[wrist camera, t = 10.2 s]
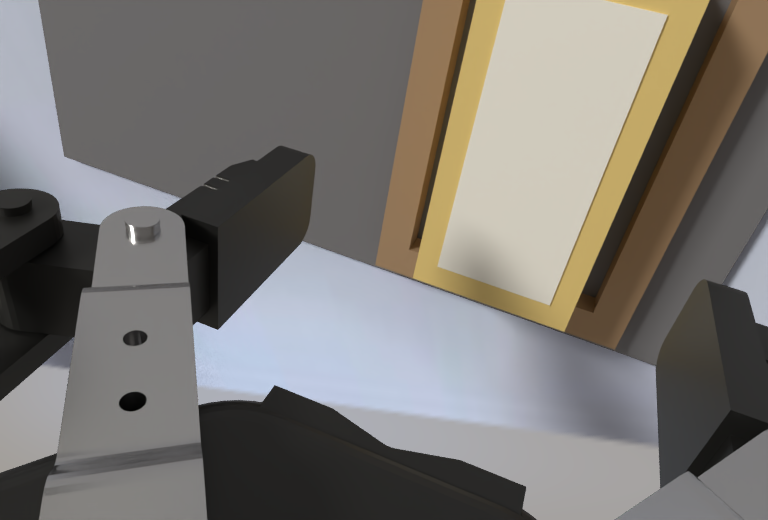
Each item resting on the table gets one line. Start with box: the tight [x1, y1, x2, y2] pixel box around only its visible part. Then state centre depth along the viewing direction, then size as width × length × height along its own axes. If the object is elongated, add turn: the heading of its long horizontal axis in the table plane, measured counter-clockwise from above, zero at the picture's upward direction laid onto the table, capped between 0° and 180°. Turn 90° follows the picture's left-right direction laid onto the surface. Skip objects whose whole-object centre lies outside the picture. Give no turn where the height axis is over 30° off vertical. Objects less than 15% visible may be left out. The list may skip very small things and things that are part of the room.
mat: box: [38, 0, 768, 366], centre depth 20 cm, size 28×16×2 cm, turn 81°
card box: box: [413, 0, 710, 332], centre depth 18 cm, size 10×5×4 cm, turn 171°
